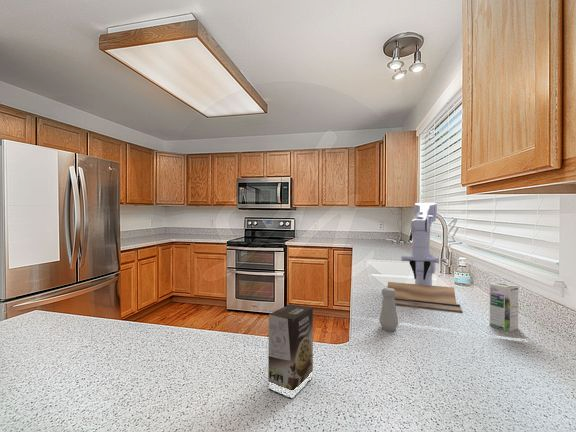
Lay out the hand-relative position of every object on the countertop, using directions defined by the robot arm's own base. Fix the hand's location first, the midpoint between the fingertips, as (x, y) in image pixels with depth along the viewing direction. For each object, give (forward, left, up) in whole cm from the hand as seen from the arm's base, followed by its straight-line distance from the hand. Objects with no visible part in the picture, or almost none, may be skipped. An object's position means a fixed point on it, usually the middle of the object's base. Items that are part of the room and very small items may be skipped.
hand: (419, 278), depth 123 cm
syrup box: (+23, +24, -10) cm, 35 cm away
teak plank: (+1, 0, -7) cm, 7 cm away
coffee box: (+77, -27, -10) cm, 83 cm away
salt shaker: (+37, -10, -10) cm, 40 cm away
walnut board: (+10, 0, -9) cm, 14 cm away
